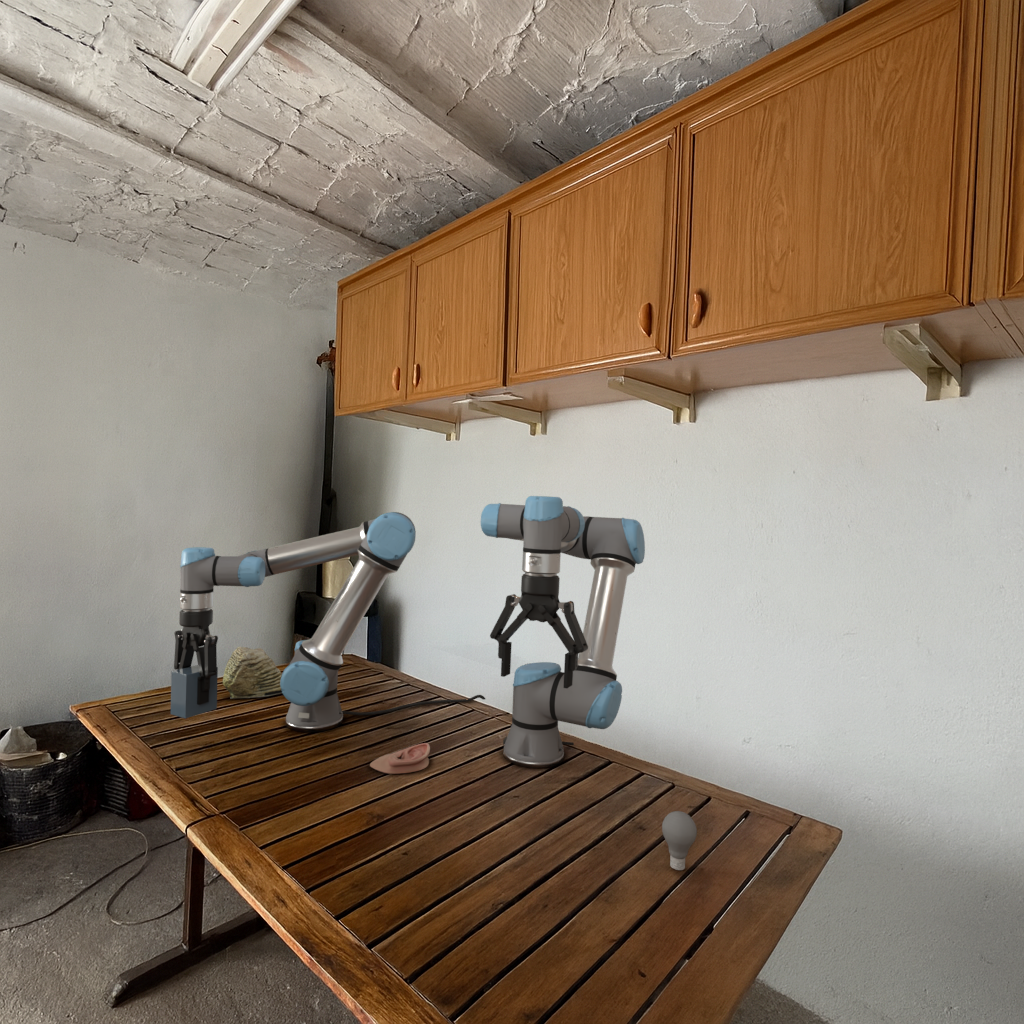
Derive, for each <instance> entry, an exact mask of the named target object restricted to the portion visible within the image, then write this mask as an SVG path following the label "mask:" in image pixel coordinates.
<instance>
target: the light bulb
mask: <svg viewBox="0 0 1024 1024" xmlns="http://www.w3.org/2000/svg"><path fill="white" fill-rule="evenodd" d="M661 831H662V836H663V837H664V839H665V842H666V844H667V847H668V852H669V855H670V858H669V859H670V860H669V866H670V867H671V868H672V869H674V870H676V871H683V870H685V869H686V858H687V856H688V854H689V850H690V848H691V847H692V846H693V844H694V842H695V841H696V838H697V835H698V830H697V824H696V823H695V821H694V820H693V818H692V817H691V816H690V815H689V814H688V813H687V812H684V811H680V810H674V811H671V812H669V813H668V814H667V815H666V816H665V817H664V818H663V821H662V824H661Z"/></svg>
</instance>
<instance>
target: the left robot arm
mask: <svg viewBox="0 0 1024 1024" xmlns="http://www.w3.org/2000/svg"><path fill="white" fill-rule="evenodd" d="M415 542H416V527H415V524H414V522H413V520H412V519H411V518H410V517H409V516H407V515H406V514H404V513H402V512H399V511H391V512H385V513H383V514H379V516H377V517H376V518H373V519H370V520H366V521H362V522H361V523H360V525H359V526H356V527H353V528H349V529H343V530H340V531H339V530H338V531H335V532H330V533H326V534H322V535H318V536H314V537H310V538H305V539H301V540H296V541H293V542H289V543H284V544H279V545H276V546H271V547H267V548H263V549H258V550H251V551H248V552H246V553H243V554H240V555H234V556H232V555H231V556H227V555H224V556H221V555H216V553H215V549H214V548H213V547H207V546H197V547H194V546H192V547H186V548H184V549H183V550H182V551H181V556H180V557H181V558H180V565H179V568H180V570H179V571H180V576H179V577H180V581H179V582H180V585H179V586H180V590H179V592H180V594H179V595H180V596H179V608H180V609H181V610H180V611H179V617H178V619H179V625H180V626H181V627H182V629H178V630H174V639H175V642H174V643H175V645H174V659H173V660H174V661H173V669H174V671H175V670H179V669H183V668H187V667H192V664H193V659H194V654H196V655H195V656H196V660H197V661H196V662H197V665H198V667H199V673H200V677H197V678H198V682H197V704H198V705H200V704H203V703H207V702H209V689H210V677H211V676H213V675H216V674H217V667H218V665H217V664H218V663H217V662H218V661H217V659H218V658H217V657H218V655H217V644H218V640H219V637H218V635H212V634H211V632H210V628H209V627H210V625H212V624H213V622H214V621H213V620H214V610H213V607H214V586H215V587H245V588H250V587H259V586H261V585H263V584H264V581H265V578H267V577H271V576H275V575H279V574H283V573H287V572H292V571H295V570H296V571H297V570H301V569H304V568H308V567H313V566H317V565H320V564H324V563H325V564H327V563H329V562H330V563H331V562H334V561H338V560H343V559H346V558H351V557H355V556H358V559H357V561H356V563H355V565H354V566H353V567H352V570H351V571H350V573H349V574H348V577H347V578H346V580H345V582H344V583H343V585H342V586H341V588H340V590H339V591H338V593H337V595H336V596H335V598H334V600H333V602H332V604H330V607H329V608H328V610H327V612H326V613H325V615H324V617H323V619H322V620H321V621H320V624H319V625H318V627H317V628H316V630H315V632H314V633H313V635H312V636H311V638H309V639H303V640H302V639H301V640H298V641H297V642H296V643H295V648H294V655H293V657H292V659H291V660H290V662H289V664H288V665H287V666H286V667H285V668H284V669H283V671H282V672H281V673H282V676H281V681H280V687H281V691H282V693H281V694H282V695H283V697H284V698H285V699H286V700H287V701H288V702H290V704H289V708H288V711H287V713H286V715H285V726H286V728H287V729H289V730H291V731H294V732H295V731H296V732H301V733H316V732H325V731H329V730H332V729H335V728H337V727H339V726H340V725H342V723H343V722H344V715H346V716H347V715H350V716H374V715H375V716H377V715H381V714H382V715H383V714H387V713H391V712H395V711H398V710H399V711H400V710H402V709H406V708H412V707H418V706H423V705H431V704H432V705H433V704H449V703H468V702H472V701H474V700H477V699H481V700H486V697H485V696H484V695H483V694H476V695H474V696H471V697H469V698H463V699H461V698H460V699H457V698H456V699H436V700H435V699H434V700H426V701H418V702H414V703H413V702H412V703H407V704H403V705H398V706H395V707H392V708H387V709H381V710H376V711H375V710H374V711H363V712H361V711H349V710H343V709H342V706H341V702H340V699H339V695H338V682H339V681H338V680H339V678H338V677H339V671H340V669H341V668H342V665H343V664H344V660H343V656H342V654H343V653H344V651H345V649H346V647H347V645H348V644H349V642H350V640H351V639H352V637H353V635H354V633H355V632H356V630H357V628H358V627H359V625H360V624H361V622H362V620H363V618H364V616H365V615H366V613H367V612H368V610H369V609H370V606H371V605H372V604H373V602H374V600H375V598H376V596H377V595H378V593H379V591H380V590H381V588H382V586H383V585H384V583H385V581H386V579H387V578H388V577H389V575H391V574H394V573H397V572H398V571H399V569H400V567H401V565H402V564H403V562H404V560H405V559H406V557H407V556H408V554H409V553H410V552H411V550H412V549H413V547H414V545H415ZM204 672H205V673H204ZM466 699H468V700H466Z"/></svg>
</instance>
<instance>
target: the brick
mask: <svg viewBox="0 0 1024 1024" xmlns="http://www.w3.org/2000/svg"><path fill="white" fill-rule="evenodd" d="M218 670H219V668H218V666H217V674H216V675H213V676H211V677H210V689H209V702H207V703H203V704H200V705H198V704H197V682H198V678H197V677H200V673H199V667H198V664H196V665H191V667H187V668H183V669H179V670H177V669H176V670H175V669H174V670H172V671H170V672H171V673H170V674H171V676H170V680H171V681H170V715H172V716H175V717H179V718H182V719H188V718H189V719H190V718H192V717H195V716H198V715H202V714H205V713H207V712H211V711H214V710H217V709H218V677H219V675H218V674H219V672H218ZM204 673H205V672H204Z"/></svg>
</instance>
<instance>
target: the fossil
mask: <svg viewBox="0 0 1024 1024" xmlns="http://www.w3.org/2000/svg"><path fill="white" fill-rule="evenodd" d="M282 673H283V672H281V669H279V668H278V667H277V665H276V663H275V662H274V660H273V659H272V658H271V657H270V656H269V655H268V654H267V653H266V652H265V650H264V649H263V648H260V647H258V648H251V647H247V646H246V647H245V646H238V647H237V648H236V649H235V650H233V651H232V653H231V656H230V657H229V659H228V660H227V663H226V666H225V668H224V671H223V675H222V676H223V677H222V685H223V687H224V688H225V690H226V691H228V693H229V698H230V699H250V698H264V697H271V696H275V695H281V694H283V693H282V691H281V687H280V681H281V676H282Z"/></svg>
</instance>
